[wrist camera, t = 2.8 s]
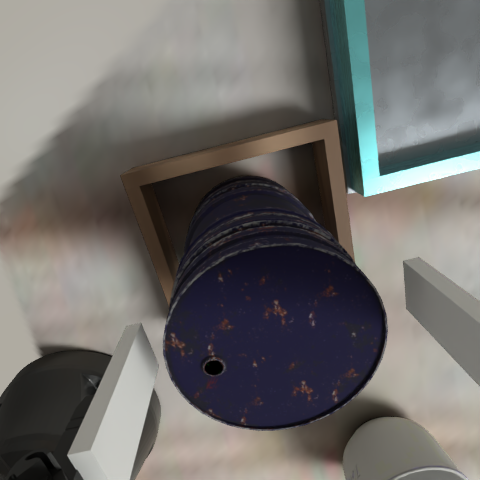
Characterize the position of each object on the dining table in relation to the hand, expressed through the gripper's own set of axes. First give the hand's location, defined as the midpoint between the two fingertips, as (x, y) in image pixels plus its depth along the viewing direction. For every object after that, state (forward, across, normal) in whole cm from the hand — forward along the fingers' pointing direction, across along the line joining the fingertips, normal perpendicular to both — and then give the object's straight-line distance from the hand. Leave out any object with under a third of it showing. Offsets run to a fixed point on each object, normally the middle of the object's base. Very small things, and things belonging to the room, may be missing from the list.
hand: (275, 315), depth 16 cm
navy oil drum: (+13, 0, 0) cm, 13 cm away
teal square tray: (+13, +16, +10) cm, 23 cm away
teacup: (+13, +9, -30) cm, 33 cm away
